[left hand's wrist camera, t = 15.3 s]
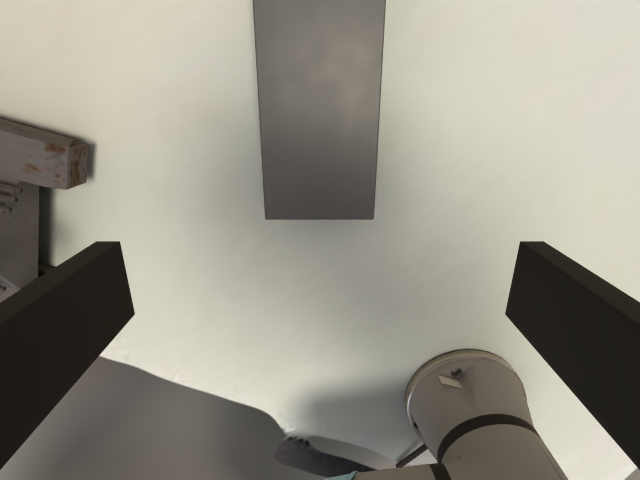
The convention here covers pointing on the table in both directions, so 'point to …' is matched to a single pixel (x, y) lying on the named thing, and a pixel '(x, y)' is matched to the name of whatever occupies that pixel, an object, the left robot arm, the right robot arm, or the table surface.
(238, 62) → the table surface
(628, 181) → the table surface
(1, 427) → the left robot arm
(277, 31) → the thick board
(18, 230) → the toy
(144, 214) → the table surface
